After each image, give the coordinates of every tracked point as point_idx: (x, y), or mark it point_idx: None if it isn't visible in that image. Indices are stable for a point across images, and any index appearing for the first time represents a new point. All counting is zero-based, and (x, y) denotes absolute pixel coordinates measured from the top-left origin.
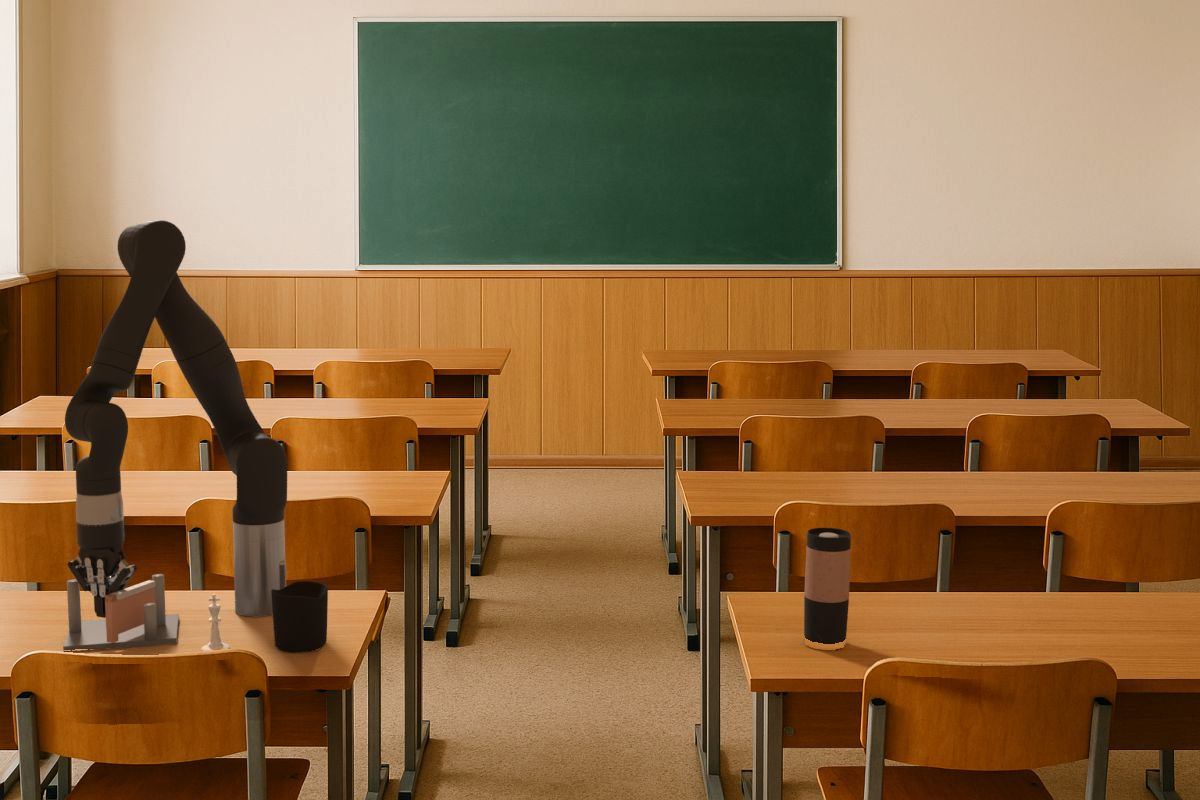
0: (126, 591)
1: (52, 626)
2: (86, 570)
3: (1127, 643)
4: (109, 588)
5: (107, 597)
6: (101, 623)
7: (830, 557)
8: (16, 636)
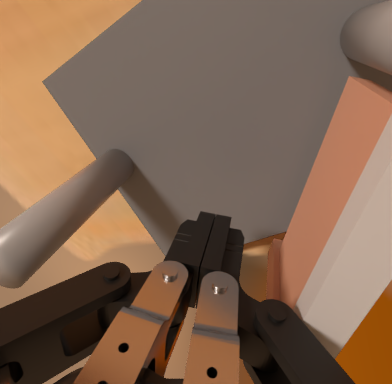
0: (338, 350)
1: (7, 89)
2: (28, 348)
3: None
4: (252, 373)
5: None
6: (135, 78)
7: None
8: (7, 177)
